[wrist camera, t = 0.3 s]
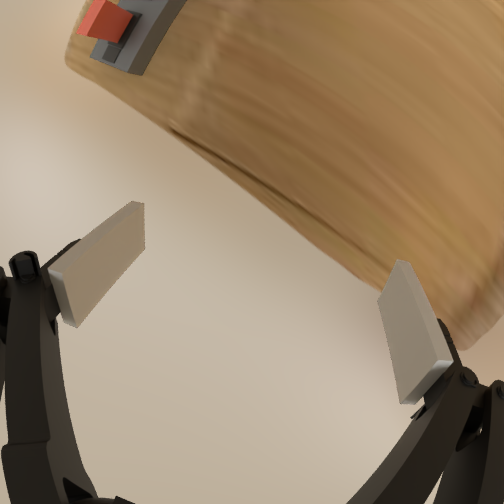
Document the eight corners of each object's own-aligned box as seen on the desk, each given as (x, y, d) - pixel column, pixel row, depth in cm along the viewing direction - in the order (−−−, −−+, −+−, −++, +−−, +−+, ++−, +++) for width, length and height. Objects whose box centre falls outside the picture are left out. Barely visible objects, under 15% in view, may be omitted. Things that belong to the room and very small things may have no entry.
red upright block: (126, 12, 28) (96, -4, 19) (134, 14, 28) (106, -1, 19) (109, 41, 30) (75, 33, 21) (118, 44, 30) (85, 36, 21)
